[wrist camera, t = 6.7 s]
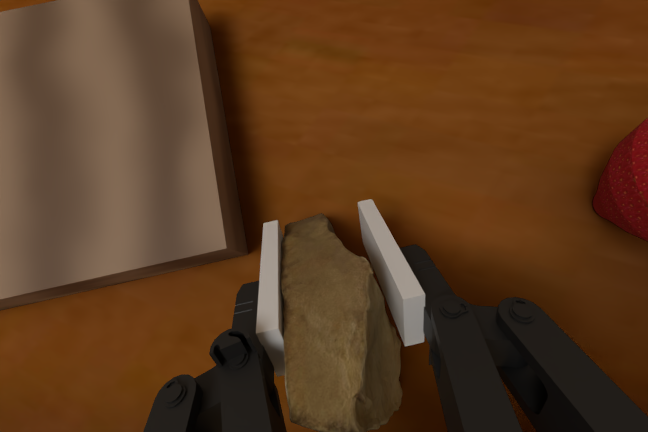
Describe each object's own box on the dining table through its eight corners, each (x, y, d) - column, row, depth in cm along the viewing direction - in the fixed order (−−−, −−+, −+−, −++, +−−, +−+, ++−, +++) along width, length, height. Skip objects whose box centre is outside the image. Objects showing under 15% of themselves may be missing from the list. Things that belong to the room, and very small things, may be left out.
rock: (246, 184, 17) (184, 383, 12) (370, 123, 11) (334, 452, 7) (361, 249, 23) (346, 393, 19) (475, 231, 18) (491, 432, 13)
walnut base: (209, 26, 23) (184, -26, 19) (248, 254, 19) (226, 248, 15) (-22, 75, 22) (-98, 32, 18) (-30, 317, 19) (-126, 327, 15)
